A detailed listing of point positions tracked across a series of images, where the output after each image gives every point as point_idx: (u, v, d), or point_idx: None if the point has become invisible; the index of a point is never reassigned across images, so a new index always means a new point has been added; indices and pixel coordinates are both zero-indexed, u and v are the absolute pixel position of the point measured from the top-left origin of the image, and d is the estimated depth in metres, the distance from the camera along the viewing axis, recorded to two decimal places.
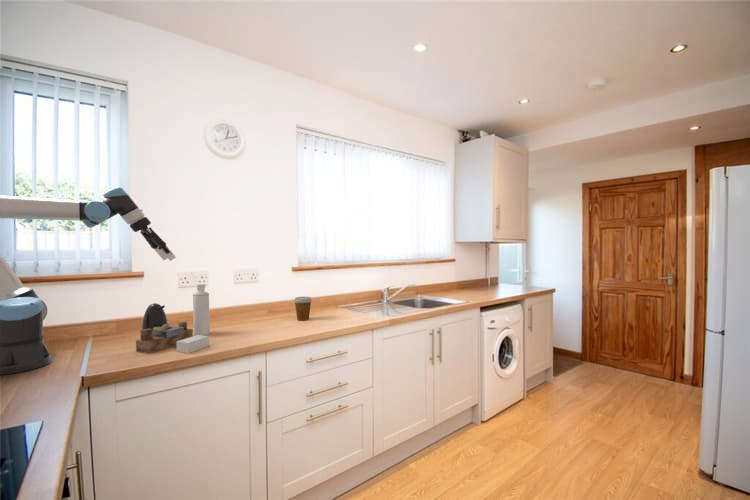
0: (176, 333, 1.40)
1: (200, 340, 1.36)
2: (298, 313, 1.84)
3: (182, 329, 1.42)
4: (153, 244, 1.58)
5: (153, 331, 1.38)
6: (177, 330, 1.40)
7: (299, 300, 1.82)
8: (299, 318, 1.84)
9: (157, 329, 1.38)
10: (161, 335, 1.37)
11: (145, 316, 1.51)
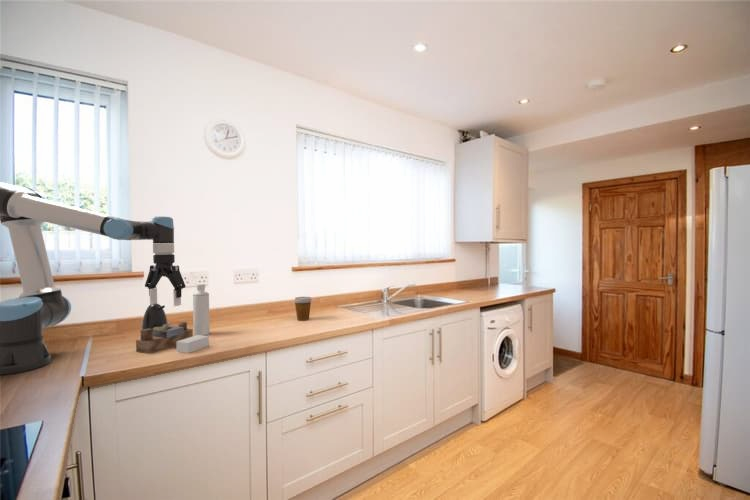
0: (176, 333, 1.40)
1: (200, 340, 1.36)
2: (298, 313, 1.84)
3: (182, 329, 1.42)
4: (154, 283, 1.43)
5: (153, 331, 1.38)
6: (177, 330, 1.40)
7: (299, 300, 1.82)
8: (299, 318, 1.84)
9: (157, 329, 1.38)
10: (161, 335, 1.37)
11: (145, 316, 1.51)
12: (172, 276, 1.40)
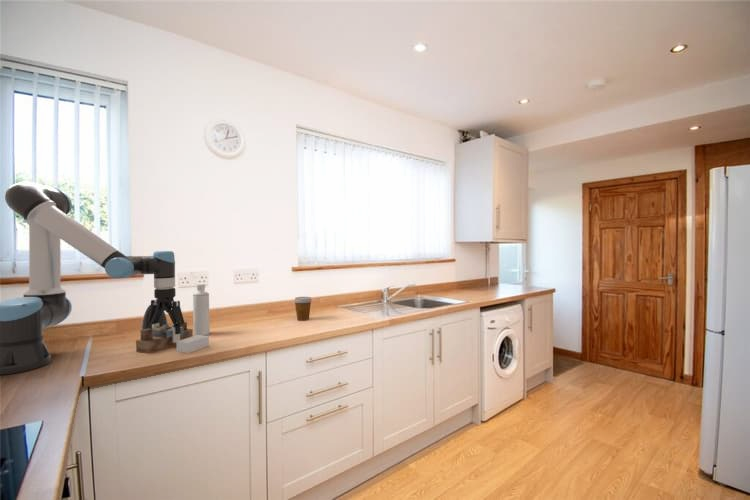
0: None
1: (200, 340, 1.36)
2: (298, 313, 1.84)
3: (182, 329, 1.42)
4: (156, 318, 1.43)
5: (153, 331, 1.38)
6: None
7: (299, 300, 1.82)
8: (299, 318, 1.84)
9: (157, 329, 1.38)
10: (161, 335, 1.37)
11: (145, 316, 1.51)
12: (172, 311, 1.40)
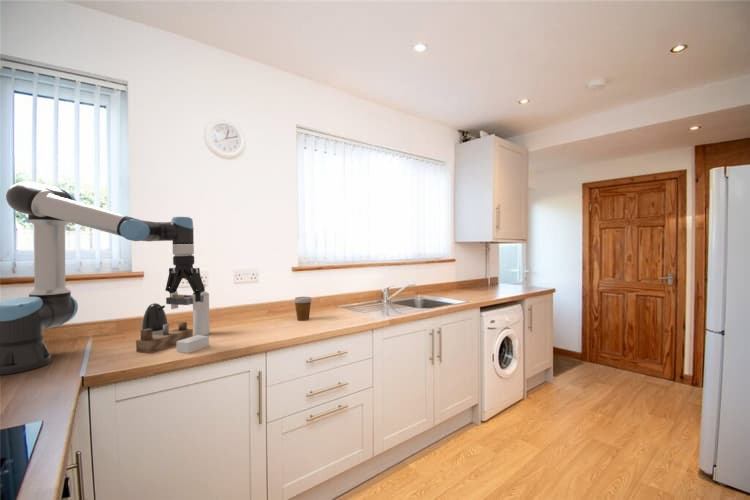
0: None
1: (200, 340, 1.36)
2: (298, 313, 1.84)
3: (202, 297, 1.39)
4: (174, 286, 1.39)
5: (172, 299, 1.34)
6: None
7: (299, 300, 1.82)
8: (299, 318, 1.84)
9: (177, 297, 1.34)
10: (181, 302, 1.33)
11: (145, 316, 1.51)
12: (192, 279, 1.36)
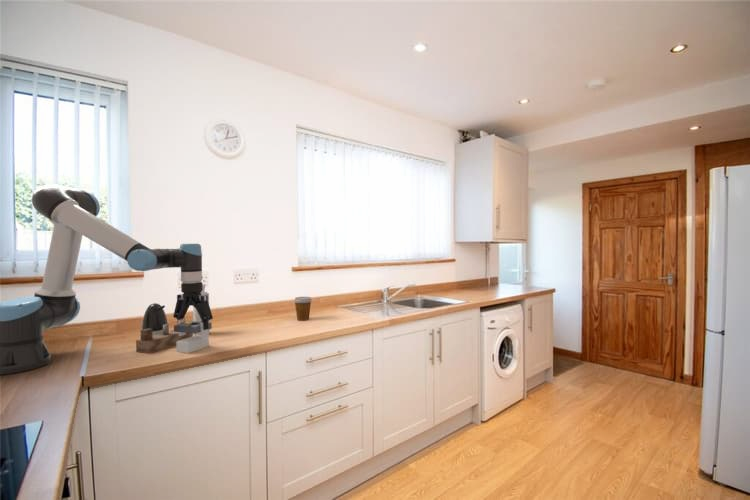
0: None
1: (200, 340, 1.36)
2: (298, 313, 1.84)
3: (210, 325, 1.37)
4: (182, 313, 1.37)
5: (180, 327, 1.33)
6: None
7: (299, 300, 1.82)
8: (299, 318, 1.84)
9: (185, 325, 1.32)
10: (189, 331, 1.31)
11: (145, 316, 1.51)
12: (200, 306, 1.34)
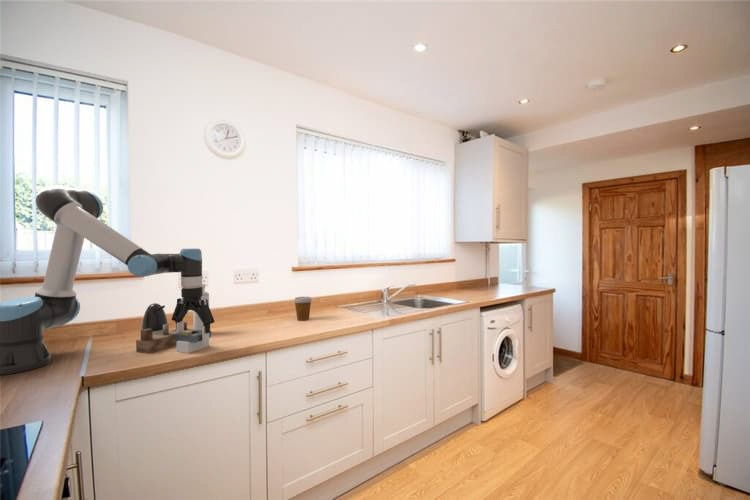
0: None
1: None
2: (298, 313, 1.84)
3: (209, 333, 1.37)
4: (181, 317, 1.38)
5: (180, 335, 1.33)
6: None
7: (299, 300, 1.82)
8: (299, 318, 1.84)
9: (185, 334, 1.32)
10: (189, 340, 1.32)
11: (145, 316, 1.51)
12: (200, 310, 1.34)
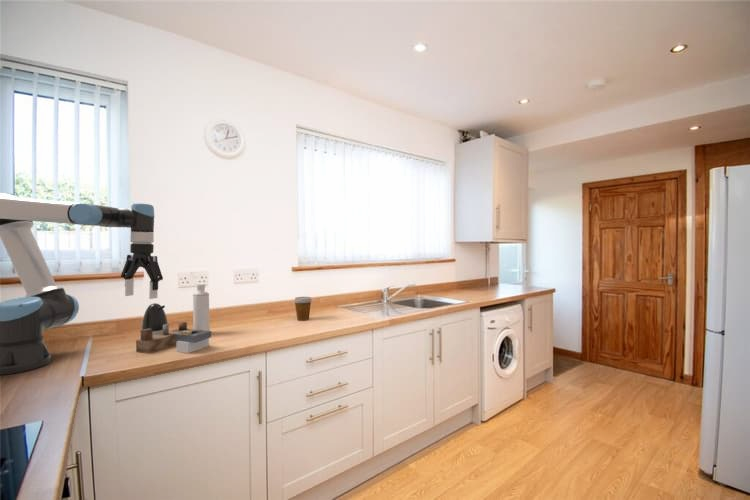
0: (204, 337, 1.35)
1: None
2: (298, 313, 1.84)
3: (209, 333, 1.37)
4: (130, 274, 1.35)
5: (180, 335, 1.33)
6: (205, 334, 1.35)
7: (299, 300, 1.82)
8: (299, 318, 1.84)
9: (185, 334, 1.32)
10: (189, 340, 1.32)
11: (145, 316, 1.51)
12: (149, 267, 1.32)
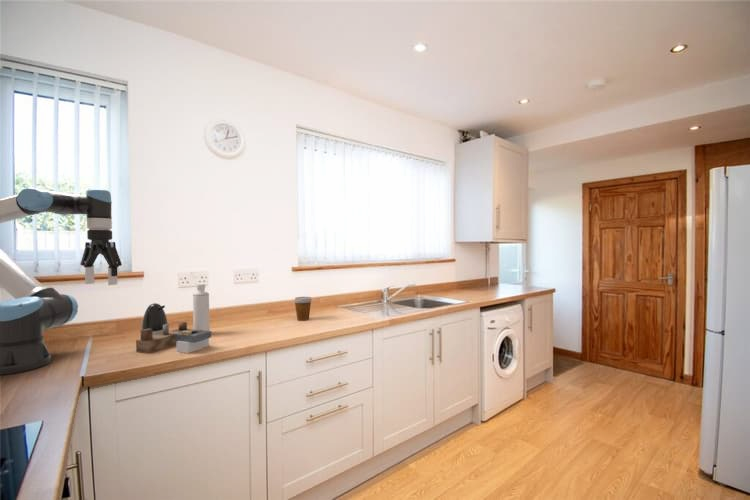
0: (204, 337, 1.35)
1: None
2: (298, 313, 1.84)
3: (209, 333, 1.37)
4: (90, 261, 1.33)
5: (180, 335, 1.33)
6: (205, 334, 1.35)
7: (299, 300, 1.82)
8: (299, 318, 1.84)
9: (185, 334, 1.32)
10: (189, 340, 1.32)
11: (145, 316, 1.51)
12: (108, 253, 1.30)
